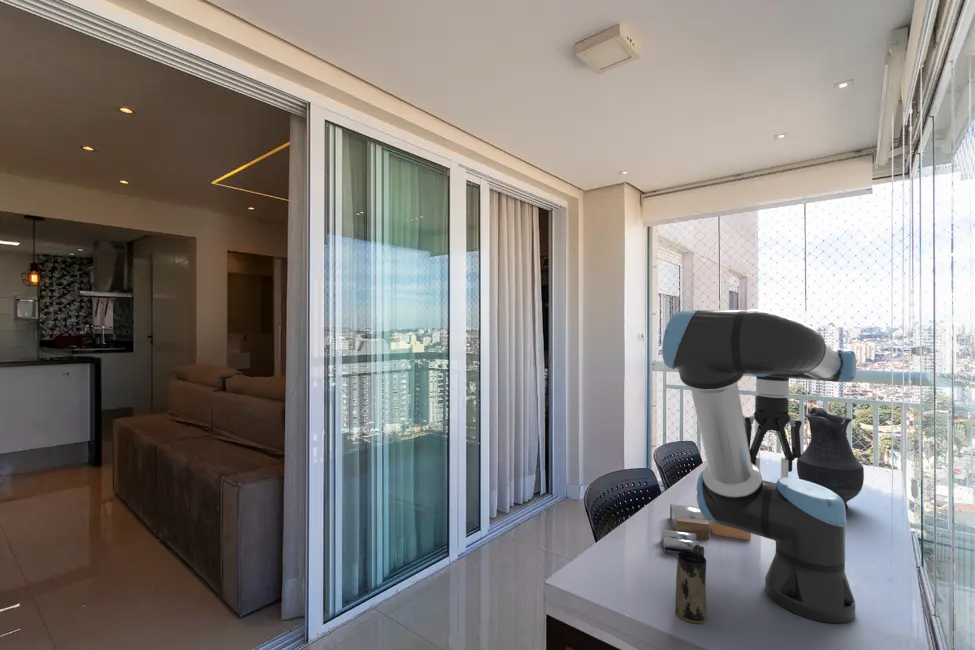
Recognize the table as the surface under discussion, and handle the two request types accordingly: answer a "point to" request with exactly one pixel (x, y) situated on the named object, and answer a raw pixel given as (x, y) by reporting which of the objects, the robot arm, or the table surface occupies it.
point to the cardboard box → (691, 525)
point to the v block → (677, 541)
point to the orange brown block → (729, 531)
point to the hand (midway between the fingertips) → (770, 481)
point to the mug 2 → (691, 586)
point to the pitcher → (830, 456)
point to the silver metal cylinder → (686, 513)
